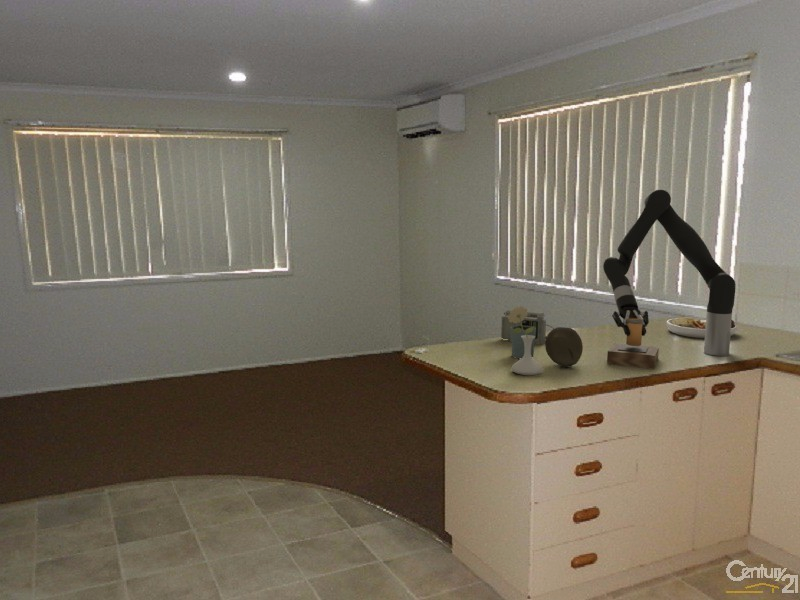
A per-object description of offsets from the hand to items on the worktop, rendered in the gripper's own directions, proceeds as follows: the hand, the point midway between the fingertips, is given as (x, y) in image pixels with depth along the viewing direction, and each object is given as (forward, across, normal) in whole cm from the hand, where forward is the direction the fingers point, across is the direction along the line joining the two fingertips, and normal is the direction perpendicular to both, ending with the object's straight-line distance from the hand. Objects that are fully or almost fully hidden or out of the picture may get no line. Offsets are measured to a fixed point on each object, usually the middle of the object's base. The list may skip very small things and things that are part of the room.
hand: (636, 334), depth 242 cm
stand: (+7, 0, +9) cm, 11 cm away
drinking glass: (-1, -41, +17) cm, 44 cm away
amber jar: (+2, 0, +4) cm, 5 cm away
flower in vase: (+17, -47, -1) cm, 50 cm away
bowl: (-29, +55, +46) cm, 77 cm away
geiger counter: (-20, -31, +36) cm, 52 cm away
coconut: (+10, -29, +6) cm, 32 cm away
